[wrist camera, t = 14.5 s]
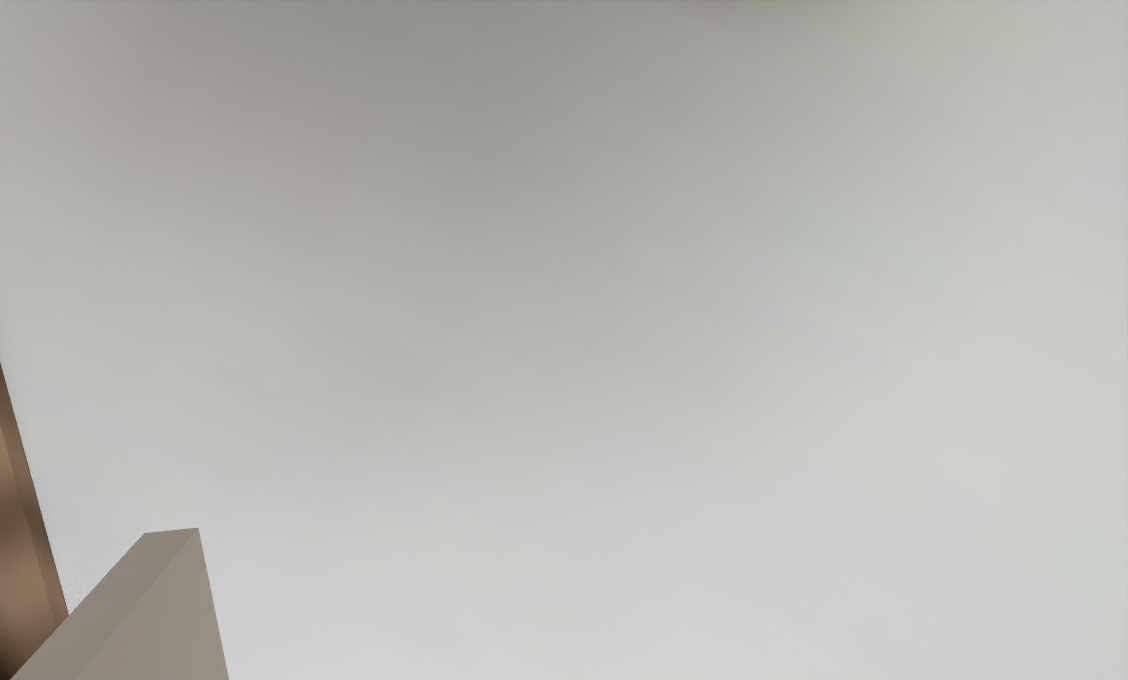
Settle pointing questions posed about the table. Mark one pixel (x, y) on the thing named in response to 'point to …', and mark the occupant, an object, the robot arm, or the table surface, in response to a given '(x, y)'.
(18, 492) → the mounting board
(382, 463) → the table surface
